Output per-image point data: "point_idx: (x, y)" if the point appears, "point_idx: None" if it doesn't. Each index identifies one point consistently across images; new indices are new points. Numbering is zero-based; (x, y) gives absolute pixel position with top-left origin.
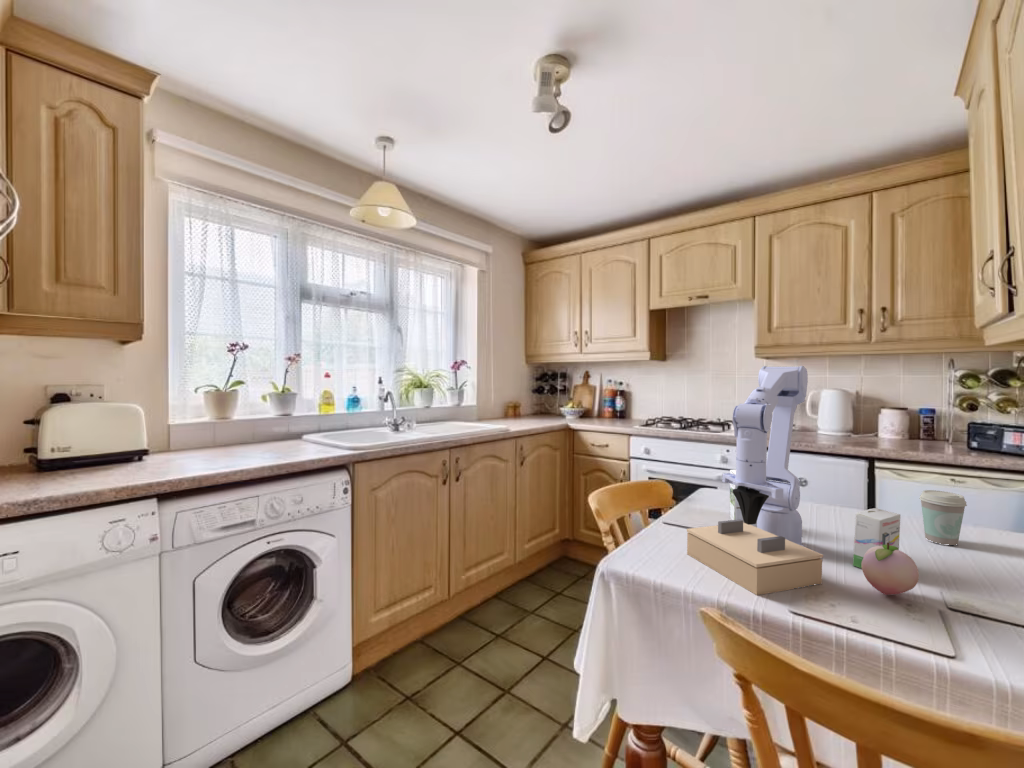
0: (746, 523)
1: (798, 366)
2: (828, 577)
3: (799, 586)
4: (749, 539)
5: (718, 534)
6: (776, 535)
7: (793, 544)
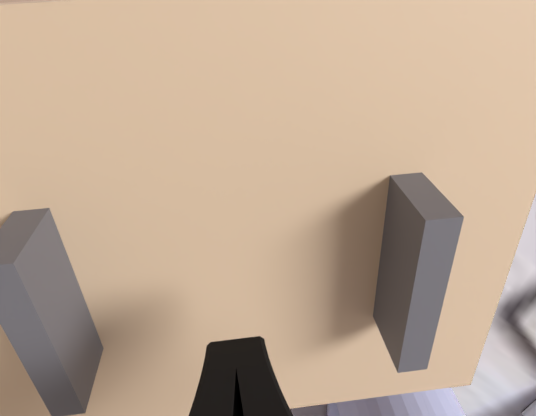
0: (229, 340)
1: None
2: None
3: None
4: (253, 279)
5: (392, 152)
6: None
7: (149, 413)
